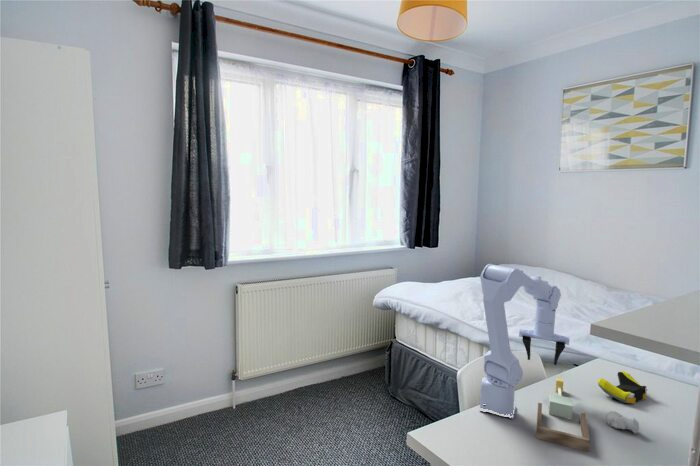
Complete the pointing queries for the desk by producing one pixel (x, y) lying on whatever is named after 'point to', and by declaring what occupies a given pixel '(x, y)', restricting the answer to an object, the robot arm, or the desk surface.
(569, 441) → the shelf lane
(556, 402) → the tethered block
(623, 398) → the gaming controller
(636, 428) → the smooth white sculpture
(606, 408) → the desk surface
